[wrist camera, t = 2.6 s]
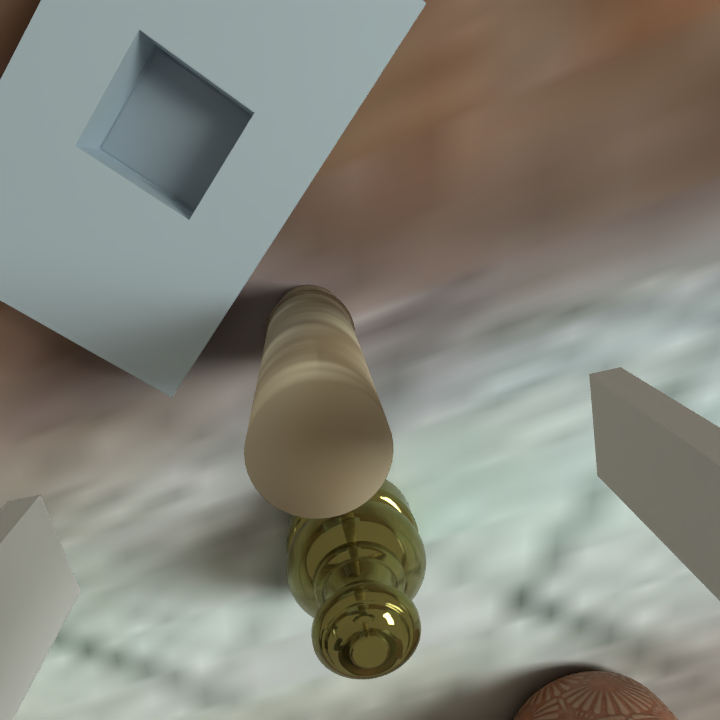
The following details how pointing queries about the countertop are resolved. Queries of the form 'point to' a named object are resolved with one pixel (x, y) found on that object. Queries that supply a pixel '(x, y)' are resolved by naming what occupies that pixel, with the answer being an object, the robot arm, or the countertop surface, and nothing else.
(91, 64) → the slate board
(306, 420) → the beech peg
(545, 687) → the planter
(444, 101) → the countertop surface
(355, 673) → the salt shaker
